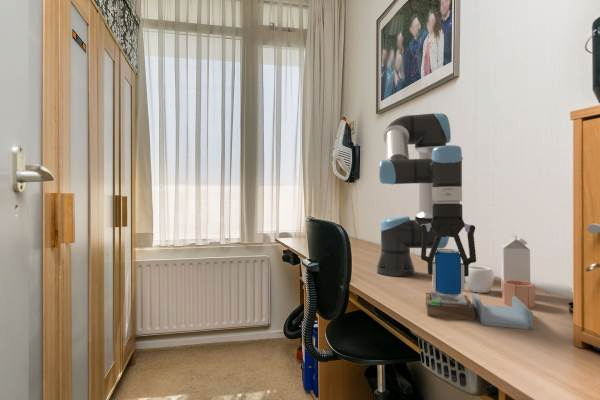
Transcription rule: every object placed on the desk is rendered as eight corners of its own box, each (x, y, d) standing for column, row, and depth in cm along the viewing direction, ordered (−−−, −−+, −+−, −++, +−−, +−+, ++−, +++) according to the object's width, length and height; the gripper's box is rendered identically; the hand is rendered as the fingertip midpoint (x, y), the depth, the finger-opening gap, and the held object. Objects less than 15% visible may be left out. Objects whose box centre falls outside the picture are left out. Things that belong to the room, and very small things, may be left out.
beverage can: (464, 298, 89) (463, 252, 89) (437, 297, 90) (437, 251, 90) (457, 291, 95) (457, 248, 95) (433, 290, 97) (432, 248, 97)
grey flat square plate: (430, 295, 98) (430, 291, 98) (462, 297, 96) (462, 294, 96) (432, 303, 90) (432, 299, 90) (467, 306, 88) (467, 302, 88)
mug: (490, 288, 116) (490, 265, 116) (496, 295, 108) (496, 270, 108) (451, 286, 119) (451, 264, 119) (455, 292, 111) (455, 268, 111)
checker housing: (425, 302, 100) (425, 289, 100) (466, 306, 97) (466, 292, 97) (427, 316, 89) (427, 301, 89) (474, 320, 85) (474, 305, 85)
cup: (500, 298, 104) (500, 279, 104) (529, 301, 101) (529, 280, 101) (506, 306, 96) (506, 285, 97) (538, 308, 94) (537, 286, 94)
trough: (472, 307, 95) (472, 293, 96) (515, 311, 92) (515, 296, 92) (481, 324, 82) (481, 308, 82) (532, 329, 79) (532, 312, 79)
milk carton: (503, 295, 107) (503, 235, 107) (501, 290, 113) (500, 233, 114) (530, 298, 104) (530, 236, 104) (526, 292, 110) (526, 234, 110)
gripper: (409, 203, 93) (410, 287, 92) (489, 202, 86) (490, 293, 86) (410, 202, 100) (410, 281, 100) (483, 202, 94) (484, 286, 93)
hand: (447, 287), depth 93 cm, fingers closed on beverage can, 6 cm apart
